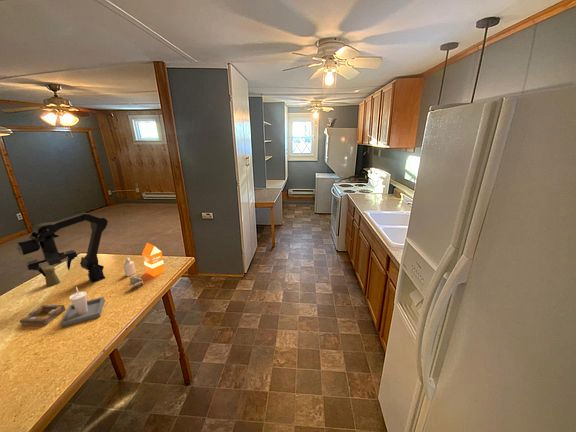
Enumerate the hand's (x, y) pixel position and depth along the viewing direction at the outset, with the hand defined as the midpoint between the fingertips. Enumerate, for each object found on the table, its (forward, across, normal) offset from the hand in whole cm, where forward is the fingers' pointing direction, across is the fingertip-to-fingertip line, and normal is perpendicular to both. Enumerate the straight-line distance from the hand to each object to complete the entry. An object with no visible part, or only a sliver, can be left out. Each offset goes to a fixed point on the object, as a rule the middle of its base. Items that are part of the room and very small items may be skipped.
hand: (57, 273), depth 127 cm
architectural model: (+14, +28, -24) cm, 40 cm away
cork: (+13, -2, +18) cm, 22 cm away
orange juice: (+13, +42, -16) cm, 47 cm away
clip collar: (+13, -10, -17) cm, 24 cm away
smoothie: (+12, +2, -28) cm, 30 cm away
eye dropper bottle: (+13, +31, -6) cm, 34 cm away
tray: (+13, +3, -28) cm, 31 cm away
